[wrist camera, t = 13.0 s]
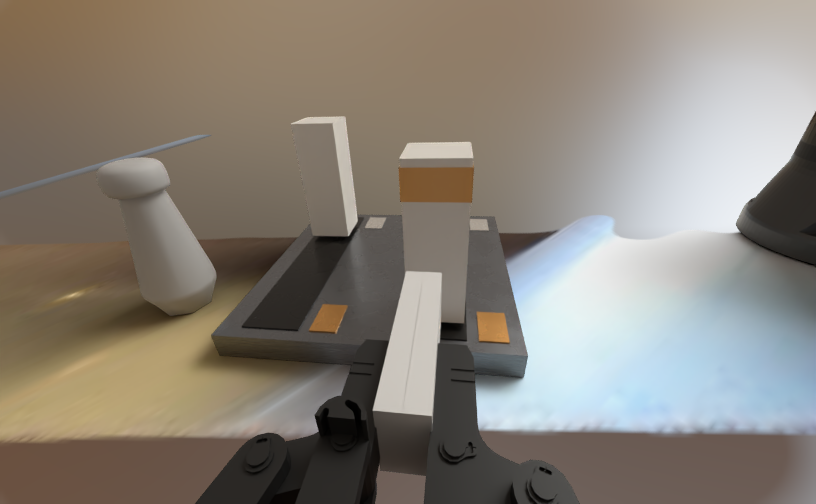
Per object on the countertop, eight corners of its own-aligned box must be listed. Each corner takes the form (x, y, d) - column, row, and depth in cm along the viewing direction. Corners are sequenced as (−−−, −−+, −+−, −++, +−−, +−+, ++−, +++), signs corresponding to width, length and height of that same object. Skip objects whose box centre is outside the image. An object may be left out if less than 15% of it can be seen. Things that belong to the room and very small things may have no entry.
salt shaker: (136, 322, 29) (52, 173, 23) (178, 283, 34) (119, 152, 28) (202, 322, 29) (135, 171, 22) (234, 283, 34) (188, 150, 27)
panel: (493, 231, 41) (494, 215, 40) (523, 377, 23) (528, 354, 21) (321, 228, 44) (318, 213, 43) (219, 355, 25) (210, 334, 24)
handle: (463, 289, 27) (471, 142, 21) (464, 323, 24) (474, 158, 18) (412, 287, 28) (407, 142, 22) (406, 320, 24) (398, 158, 18)
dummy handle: (357, 221, 40) (345, 116, 34) (348, 236, 36) (332, 122, 31) (325, 220, 40) (307, 117, 35) (312, 235, 37) (290, 124, 31)
